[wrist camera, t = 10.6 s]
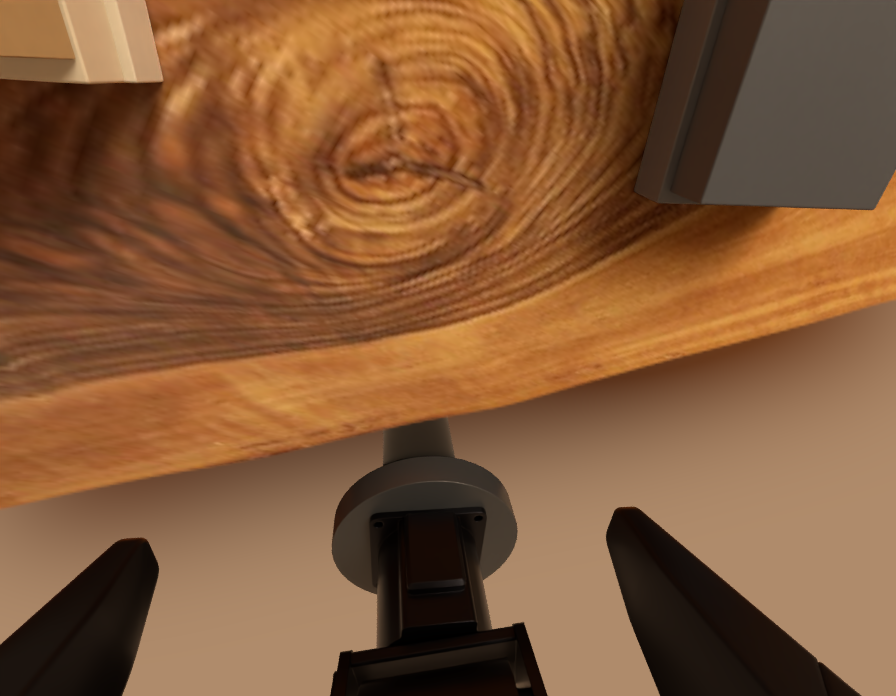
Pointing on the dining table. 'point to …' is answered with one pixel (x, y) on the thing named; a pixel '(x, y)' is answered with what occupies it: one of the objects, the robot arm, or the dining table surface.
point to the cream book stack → (97, 47)
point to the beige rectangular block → (33, 30)
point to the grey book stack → (776, 106)
